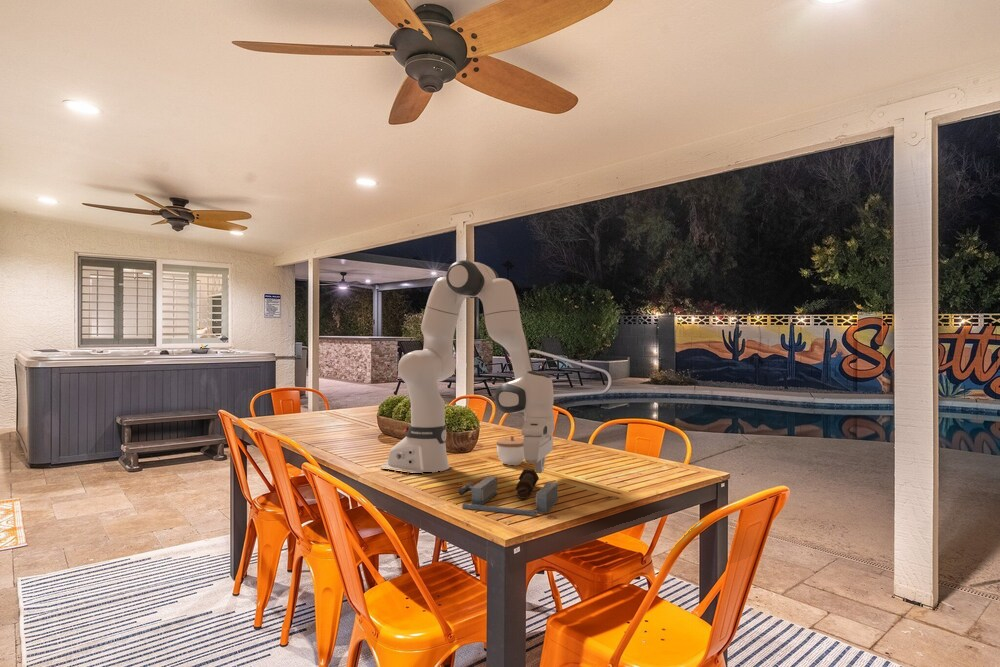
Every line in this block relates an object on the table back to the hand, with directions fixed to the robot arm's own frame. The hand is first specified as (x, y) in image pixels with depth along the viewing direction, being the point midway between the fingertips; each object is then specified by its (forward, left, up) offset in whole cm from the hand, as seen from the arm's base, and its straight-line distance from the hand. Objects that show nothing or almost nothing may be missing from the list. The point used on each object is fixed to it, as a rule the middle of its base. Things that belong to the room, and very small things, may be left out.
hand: (539, 472), depth 168 cm
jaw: (-11, -23, -3) cm, 26 cm away
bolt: (-1, -12, -3) cm, 13 cm away
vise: (-1, -24, -3) cm, 25 cm away
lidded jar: (-15, +21, -3) cm, 26 cm away
